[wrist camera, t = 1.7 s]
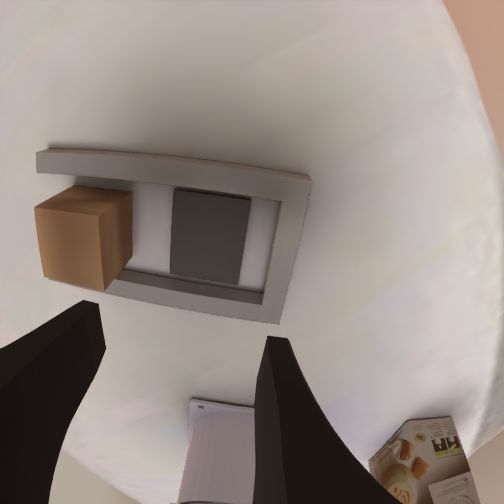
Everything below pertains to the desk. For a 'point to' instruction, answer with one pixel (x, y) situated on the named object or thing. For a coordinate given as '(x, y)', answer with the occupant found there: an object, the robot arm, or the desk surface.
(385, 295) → the desk surface
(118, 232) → the walnut block
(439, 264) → the desk surface
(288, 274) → the guide channel
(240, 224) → the pad
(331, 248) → the desk surface
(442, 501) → the coffee box
